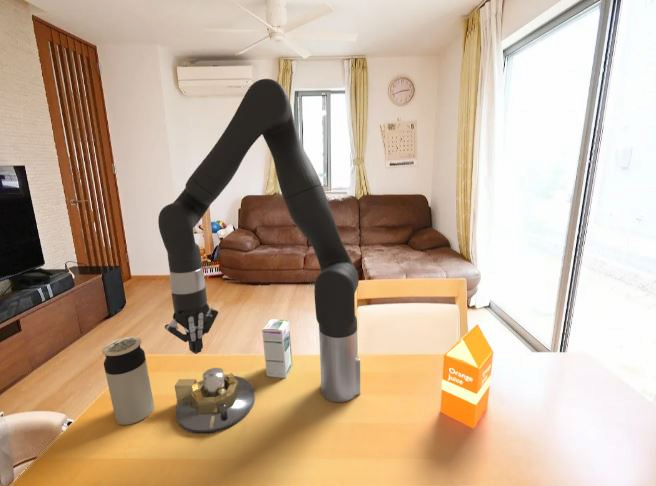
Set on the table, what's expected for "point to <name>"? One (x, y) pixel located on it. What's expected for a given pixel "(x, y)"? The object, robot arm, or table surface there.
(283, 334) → the syrup box
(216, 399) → the ring nut
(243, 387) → the cap plate
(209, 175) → the robot arm
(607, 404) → the table surface
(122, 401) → the travel mug
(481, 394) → the orange juice
